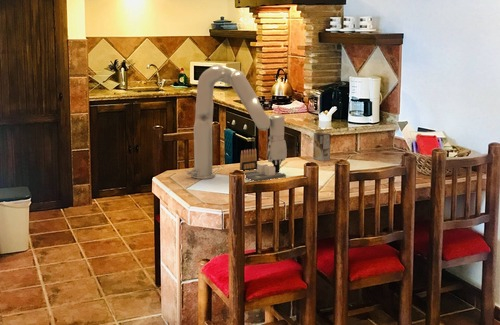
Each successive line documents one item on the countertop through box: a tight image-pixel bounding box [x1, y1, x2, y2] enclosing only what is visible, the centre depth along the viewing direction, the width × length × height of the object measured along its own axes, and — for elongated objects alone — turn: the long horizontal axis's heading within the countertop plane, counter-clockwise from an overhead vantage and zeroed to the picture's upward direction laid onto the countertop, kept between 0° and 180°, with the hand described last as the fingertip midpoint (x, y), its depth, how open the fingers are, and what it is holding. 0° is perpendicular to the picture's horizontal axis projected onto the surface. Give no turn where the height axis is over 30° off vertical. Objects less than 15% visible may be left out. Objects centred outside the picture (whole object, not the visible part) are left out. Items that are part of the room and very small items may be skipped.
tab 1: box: [256, 163, 269, 173], centre depth 356 cm, size 4×4×4 cm
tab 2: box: [265, 165, 275, 176], centre depth 351 cm, size 4×4×4 cm
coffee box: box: [312, 131, 332, 162], centre depth 395 cm, size 9×6×16 cm
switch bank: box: [244, 170, 287, 182], centre depth 353 cm, size 20×14×2 cm
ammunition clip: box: [239, 147, 258, 172], centre depth 367 cm, size 11×2×12 cm, turn 123°
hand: (276, 171), depth 353 cm, fingers closed
